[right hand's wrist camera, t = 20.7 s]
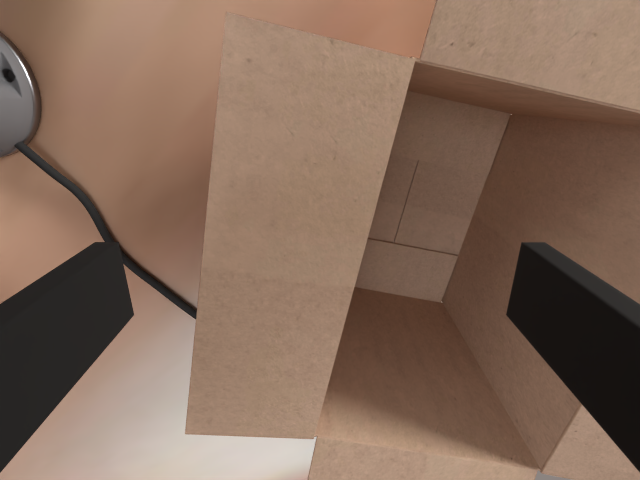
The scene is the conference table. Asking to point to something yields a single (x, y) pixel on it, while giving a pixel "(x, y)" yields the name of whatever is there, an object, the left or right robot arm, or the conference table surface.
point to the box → (414, 237)
